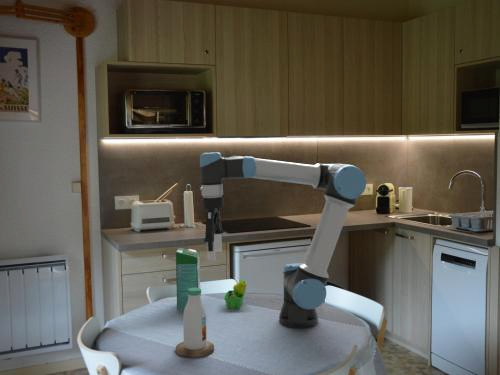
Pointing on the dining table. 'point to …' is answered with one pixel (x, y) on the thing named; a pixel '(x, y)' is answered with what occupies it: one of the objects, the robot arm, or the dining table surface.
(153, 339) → the dining table surface
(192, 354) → the disc
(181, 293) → the milk carton
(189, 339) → the milk bottle
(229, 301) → the green pot with sprout
